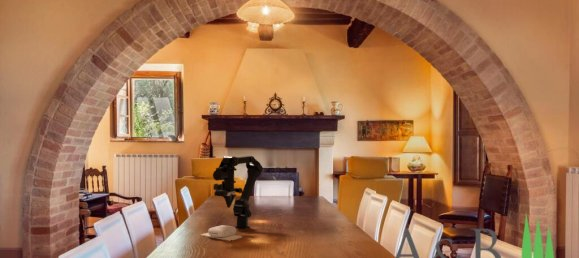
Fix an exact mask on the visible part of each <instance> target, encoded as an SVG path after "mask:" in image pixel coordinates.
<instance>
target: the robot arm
mask: <svg viewBox="0 0 579 258" xmlns="http://www.w3.org/2000/svg"><path fill="white" fill-rule="evenodd" d="M240 164H241V165H242V164H245V167H246V169H247V179H246V181H245V184H244V187H243V188H242V187H235V183H237V181H236V180H235V171H237V170H238V169H237V168H236V166H238V165H240ZM263 170H264V168H263V165H262V163H260V161H258V160H257V159H256V158H255V157H254V155H253V156H252V155H245V156H228V155H224V156H223V157H222V160H221V162H220V163H219V165H218V167H215V170H214V171H213V173H212V179H214V180H215V181H221V183H220V184H219V183H214V184H213V190H214V192H213V193H214V197H222V198H223V199H224V201H225V204H226V207H227V208H228V209H229V208H231V206H232V204H233V202H234V204H233V208H232V211H233V216H234V217H236V225H235V226H234V227H235V228H236V229H247V228H250V227H251V225H249V218H250V217H251V218H252V211H251V210H250V209H249V208H250V203H249V200H250V197H251V194H252V191H253V190H254V189H253V188H254V185H255V183H256V180H257V179H258V178H259V177H260V176H261V174H262V172H263ZM237 193H238V194H241V195H240V198H239V199H235V198H236V197H237V196H238V195H237ZM234 200H235V201H234Z"/></svg>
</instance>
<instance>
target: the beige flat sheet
mask: <svg viewBox="0 0 579 258" xmlns="http://www.w3.org/2000/svg"><path fill="white" fill-rule="evenodd" d="M200 236H201V237H206V238H212V239H218V240H223V241H229V242H230V241H231V240H232V241H234V240H235V241H236V240H239V239H241V238H242V239H243V236H242V235H236V234H234V235H230V236H227V237H221V238H220V237H213V236H210V235H209V234H208V232H205V233H201V234H200Z"/></svg>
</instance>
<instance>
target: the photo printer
mask: <svg viewBox="0 0 579 258" xmlns="http://www.w3.org/2000/svg"><path fill="white" fill-rule="evenodd" d="M207 233H208V234H209V235H210V236H213V237H220V238H221V237H227V236H230V235H236V233H237V228H236V227H235V226H232V225H231V226H230V225H222V224H221V225H218V226H217V225H216V226H212V227H210V228H208V230H207Z"/></svg>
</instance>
